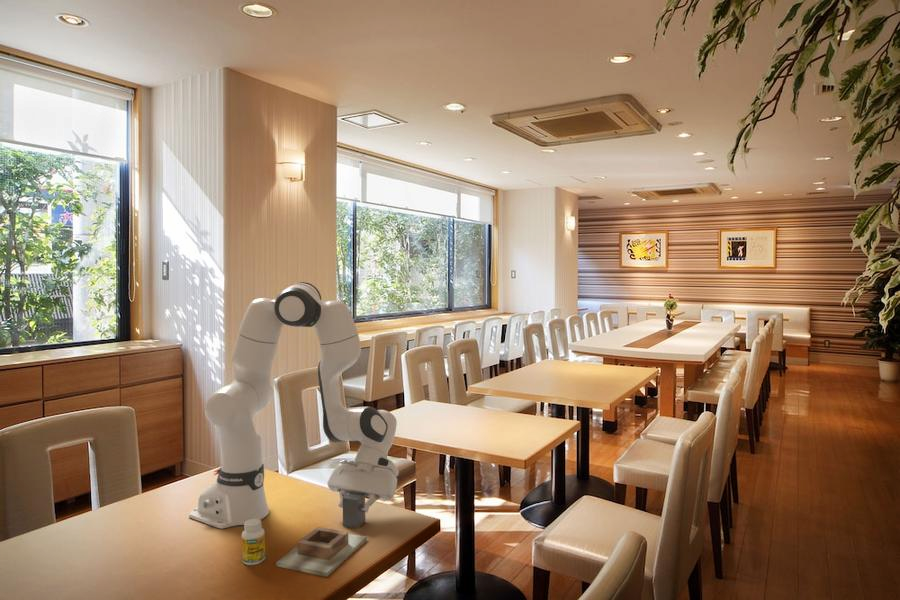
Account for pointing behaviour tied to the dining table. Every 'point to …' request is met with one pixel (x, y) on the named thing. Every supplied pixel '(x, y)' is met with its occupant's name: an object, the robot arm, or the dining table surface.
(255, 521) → the supplement bottle
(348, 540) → the socket holder
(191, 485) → the dining table surface
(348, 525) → the plug block
